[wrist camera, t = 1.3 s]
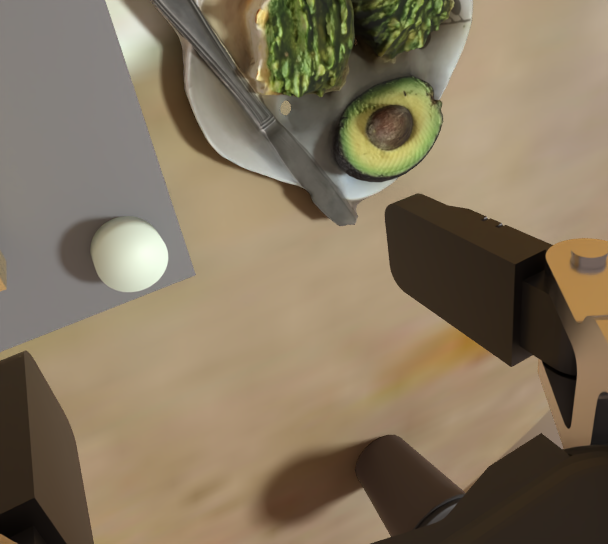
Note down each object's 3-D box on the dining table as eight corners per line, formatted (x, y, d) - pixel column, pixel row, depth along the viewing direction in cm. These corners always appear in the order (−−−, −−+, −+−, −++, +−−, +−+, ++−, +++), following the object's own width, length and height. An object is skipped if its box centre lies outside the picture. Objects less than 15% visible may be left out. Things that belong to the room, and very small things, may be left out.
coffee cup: (333, 501, 49) (398, 599, 41) (354, 428, 46) (428, 518, 38) (403, 484, 53) (474, 570, 45) (426, 416, 50) (507, 495, 42)
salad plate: (85, 135, 27) (97, 155, 24) (206, -255, 23) (244, -303, 20) (365, 230, 38) (403, 254, 35) (482, -25, 34) (540, -29, 30)
